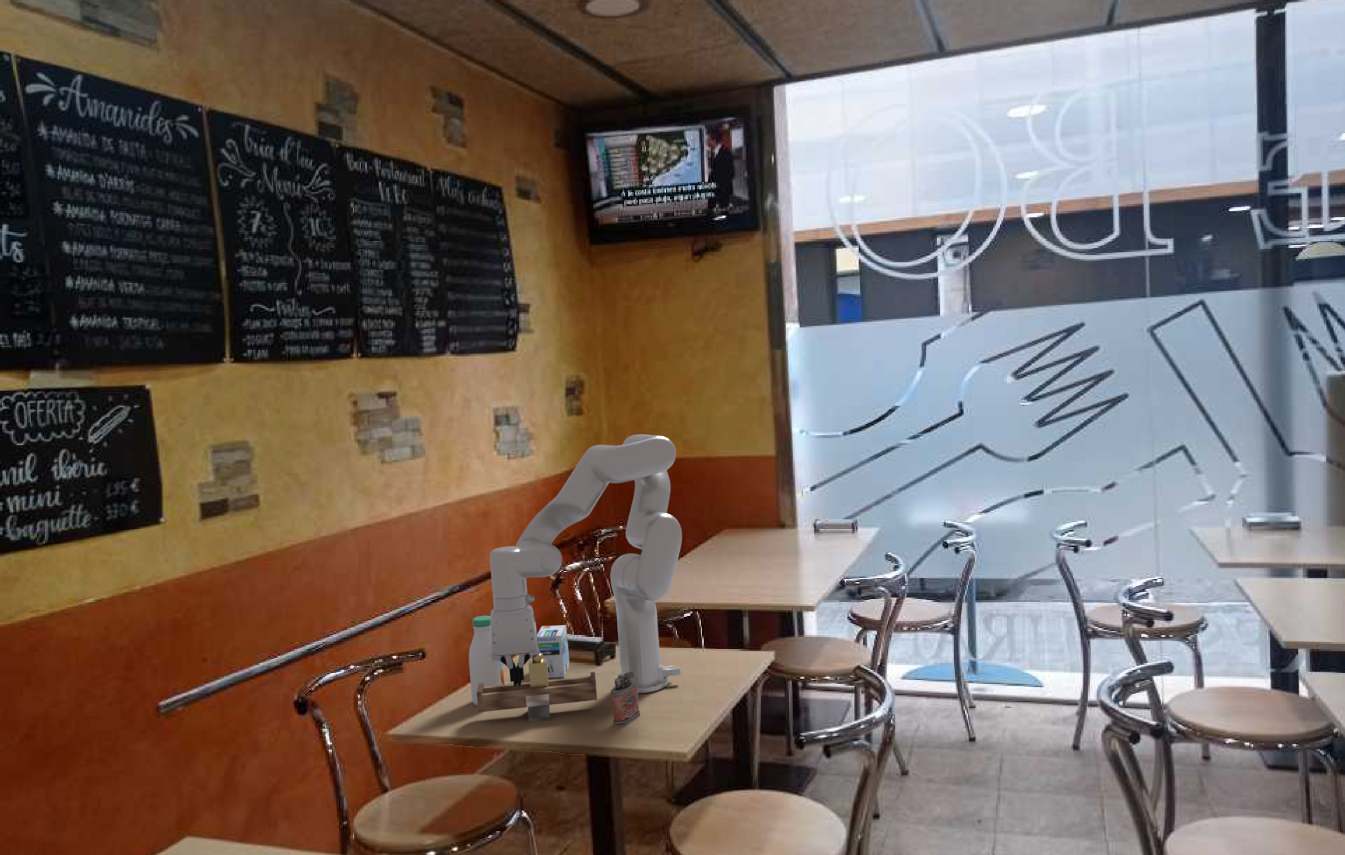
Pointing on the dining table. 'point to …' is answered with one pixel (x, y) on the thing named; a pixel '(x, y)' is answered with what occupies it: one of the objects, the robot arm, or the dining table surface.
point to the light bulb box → (554, 649)
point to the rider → (538, 672)
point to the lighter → (625, 699)
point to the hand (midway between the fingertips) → (517, 684)
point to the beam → (536, 696)
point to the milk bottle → (483, 658)
